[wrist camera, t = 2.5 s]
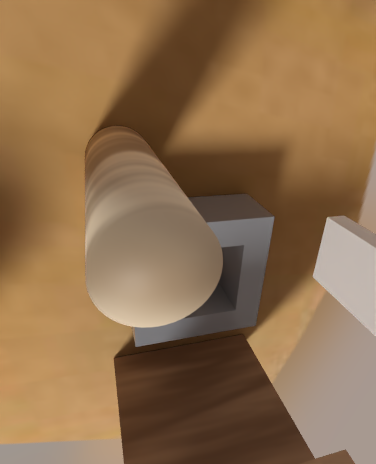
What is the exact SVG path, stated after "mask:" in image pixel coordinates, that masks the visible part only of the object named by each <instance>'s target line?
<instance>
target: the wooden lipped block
mask: <svg viewBox="0 0 376 464" xmlns="http://www.w3.org/2000/svg"><path fill="white" fill-rule="evenodd" d="M114 366H115V376H116V386H117V397H118V407H119V417H120V427H121V437H122V448H123V457H124V464H355V463H354V461H353V460H352V458H351V457H350V455H349V454H348V452H347V451H346V450H343V451H339V452H336V453H333V454H329V455H326V456H323V457H320V458H316V459H315V458H314V456H313V454H312V453H311V451H310V449H309V448H308V446H307V444H306V442H305V441H304V439H303V437H302V435H301V434H300V432H299V430H298V429H297V427H296V425H295V423H294V422H293V420H292V418H291V416H290V415H289V413H288V411H287V409H286V408H285V406H284V404H283V402H282V401H281V399H280V397H279V395H278V394H277V392H276V391H275V389H274V387H273V385H272V383H271V382H270V380H269V378H268V376H267V375H266V373H265V371H264V369H263V368H262V366H261V364H260V363H259V361H258V359H257V357H256V356H255V354H254V352H253V350H252V349H251V347H250V345H249V343H248V342H247V340H246V338H245V337H244V335H243V334H242V335H236V336H231V337H226V338H220V339H215V340H209V341H204V342H198V343H193V344H187V345H182V346H177V347H171V348H166V349H160V350H155V351H149V352H144V353H138V354H133V355H128V356H122V357H117V358H114Z"/></svg>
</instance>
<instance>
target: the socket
mask: <svg viewBox="0 0 376 464" xmlns="http://www.w3.org/2000/svg"><path fill="white" fill-rule="evenodd" d="M188 199H189V200H190V201H191V203H192V204H193V205H194V207H195V208H196V209H197V211H198V212H199V213H200V215H201V216H202V217H203V219H204V220H205V222H206V223H207V224H208V226H209V227H210V228H211V230H212V231H213V232H214V234H215V235H216V237H217V239H218V241H219V243H220V245H221V249H222V254H223V268H222V273H221V277H220V280H219V282H218V284H217V286H216V288H215V290H214V291H213V293H212V294H211V296H210V297H209V298H208V300H207V301H206V302H205V303H204V304H203V305H202V306H200V307H199V308H198V309H197V310H196V311H194V312H193V313H191V314H190V315H188V316H186V317H185V318H183V319H181V320H178V321H176V322H173V323H170V324H167V325H163V326H158V327H146V328H141V327H132V330H133V335H134V341H135V347H139V346H144V345H150V344H155V343H161V342H167V341H172V340H178V339H183V338H189V337H195V336H200V335H206V334H212V333H217V332H223V331H228V330H234V329H240V328H245V327H251V326H256V321H257V315H258V309H259V304H260V298H261V292H262V286H263V281H264V275H265V269H266V263H267V258H268V252H269V246H270V240H271V235H272V229H273V223H274V217H275V216H273V215H272V214H271V213H270V212H268V211H267V210H266V209H265V208H264V207H262V206H261V205H260V204H259V203H258V202H256V201H255V200H254V199H253V198H252V197H250V196H249V195H248V194H233V195H218V196H202V197H188Z"/></svg>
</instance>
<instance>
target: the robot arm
mask: <svg viewBox="0 0 376 464" xmlns="http://www.w3.org/2000/svg"><path fill="white" fill-rule="evenodd" d="M313 278H314V279H315V280H317V281H318V282H319V283H320V284H321V285H322V286H323V287H324V288H325V289H326V290H327V291H328V292H329V293H331V295H333V296H334V297H335V298H336V299H337V300H338V301H339V302H340V303H341V304H342V305H343V306H344V307H345V308H346V309H347V310H348V311H349V312H350V313H351V314H353V315H354V316H355V317H356V318H357V319H358V320H359V321H360V322H361V323H362V324H363V325H364V326H365V327H366V328H367V329H368V330H369V331H370V332H372V333H373V334H374V335H375V336H376V234H375V233H373V232H371V231H369V230H368V229H366V228H364V227H363V226H361V225H359V224H358V223H356V222H354V221H353V220H351V219H349V218H347V217H346V216H333V217H327V220H326V224H325V229H324V233H323V237H322V241H321V245H320V249H319V253H318V257H317V261H316V266H315V270H314V274H313Z"/></svg>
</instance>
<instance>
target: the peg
mask: <svg viewBox="0 0 376 464" xmlns="http://www.w3.org/2000/svg"><path fill="white" fill-rule="evenodd" d="M222 268H223V254H222V249H221V245H220V243H219V241H218V239H217V237H216V235H215V234H214V232H213V231H212V230H211V228H210V227H209V226H208V224H207V223H206V222H205V220H204V219H203V217H202V216H201V215H200V213H199V212H198V211H197V209H196V208H195V207H194V205H193V204H192V203H191V201H190V200H189V199H188V197H187V196H186V195H185V193H184V192H183V191H182V189H181V188H180V187H179V185H178V184H177V183H176V181H175V180H174V179H173V177H172V176H171V174H170V173H169V172H168V170H167V169H166V168H165V166H164V165H163V164H162V162H161V161H160V160H159V158H158V157H157V156H156V154H155V153H154V152H153V150H152V149H151V148H150V146H149V145H148V144H147V142H146V141H145V140H144V138H143V137H142V136H141V135H140V134H139V133H138V132H136V131H134V130H133V129H131V128H128V127H124V126H110V127H106V128H104V129H102V130H100V131H98V132H97V133H96V134H95V135H94V136H93V137H92V138H91V139H90V141H89V143H88V145H87V147H86V151H85V276H86V286H87V291H88V293H89V296H90V298H91V300H92V301H93V303H94V305H95V306H96V307H97V308H98V309H99V310H100V311H101V312H102V313H103V314H104V315H105V316H107V317H108V318H110V319H112V320H114V321H116V322H118V323H121V324H124V325H127V326H132V327H141V328H146V327H158V326H163V325H167V324H170V323H173V322H176V321H178V320H181V319H183V318H185V317H186V316H188V315H190V314H191V313H193V312H194V311H196V310H197V309H198V308H199V307H200V306H202V305H203V304H204V303H205V302H206V301H207V300H208V298H209V297H210V296H211V294H212V293H213V291H214V290H215V288H216V286H217V284H218V282H219V280H220V277H221V273H222Z"/></svg>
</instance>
